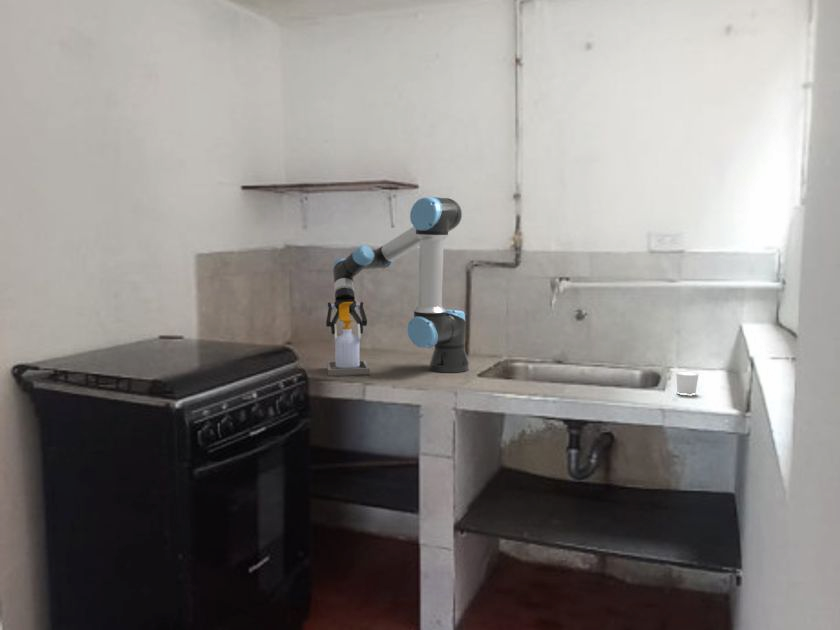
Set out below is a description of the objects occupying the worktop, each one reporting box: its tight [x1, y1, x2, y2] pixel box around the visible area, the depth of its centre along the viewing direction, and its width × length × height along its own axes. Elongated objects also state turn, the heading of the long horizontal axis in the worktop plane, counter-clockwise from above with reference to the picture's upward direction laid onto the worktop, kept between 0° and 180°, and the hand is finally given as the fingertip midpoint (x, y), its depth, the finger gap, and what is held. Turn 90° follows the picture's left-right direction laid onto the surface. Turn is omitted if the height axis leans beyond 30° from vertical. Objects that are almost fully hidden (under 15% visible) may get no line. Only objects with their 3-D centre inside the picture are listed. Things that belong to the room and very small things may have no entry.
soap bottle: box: [334, 302, 361, 369], centre depth 267 cm, size 9×9×25 cm
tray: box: [326, 360, 371, 377], centre depth 268 cm, size 15×16×3 cm
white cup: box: [675, 371, 699, 394], centre depth 234 cm, size 7×7×7 cm
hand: (348, 339), depth 263 cm, fingers closed on soap bottle, 8 cm apart
